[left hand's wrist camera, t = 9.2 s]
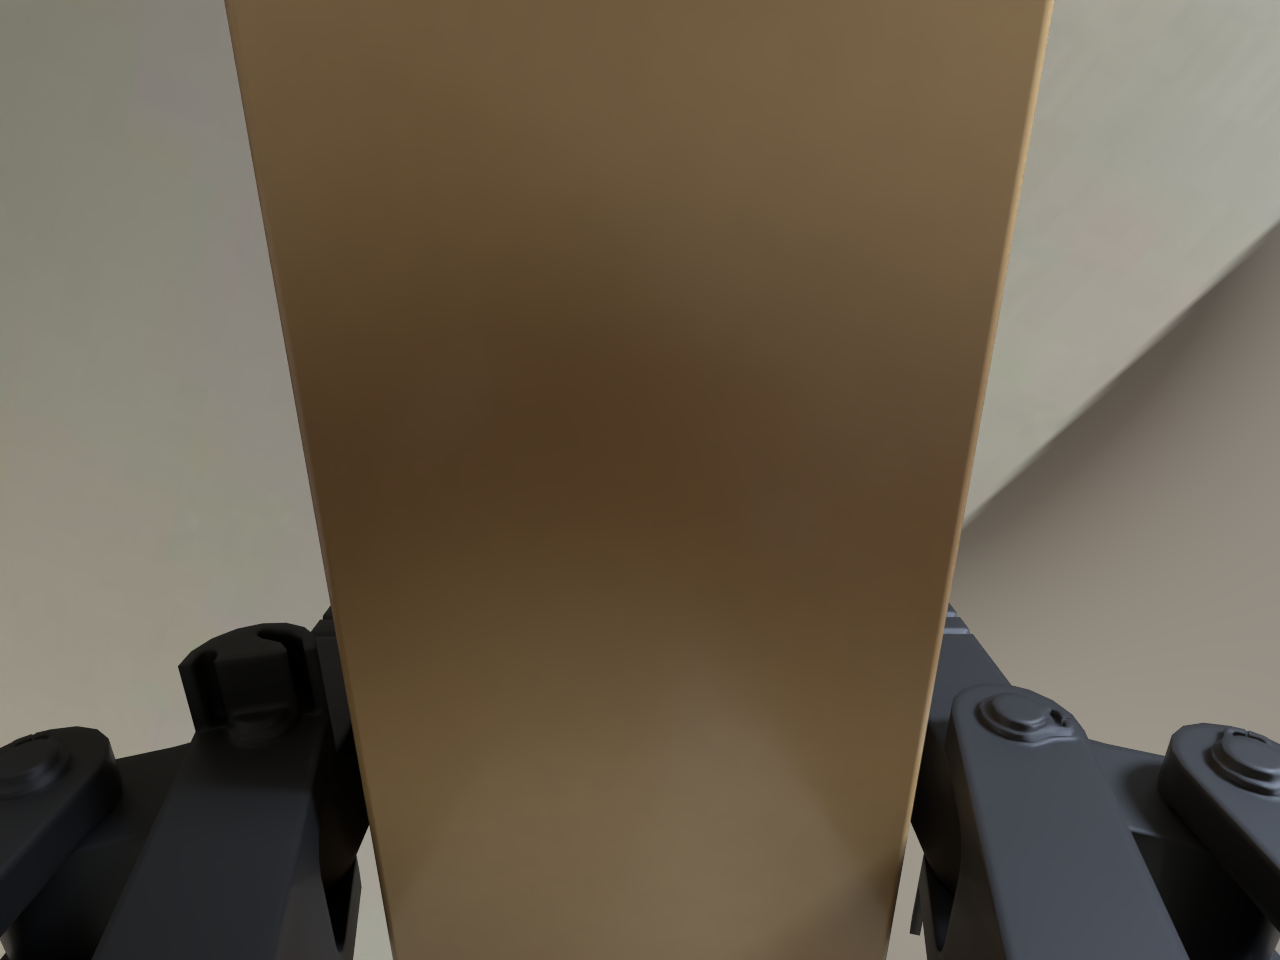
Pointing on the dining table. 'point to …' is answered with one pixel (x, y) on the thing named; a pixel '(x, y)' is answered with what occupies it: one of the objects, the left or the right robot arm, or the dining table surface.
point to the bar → (639, 439)
